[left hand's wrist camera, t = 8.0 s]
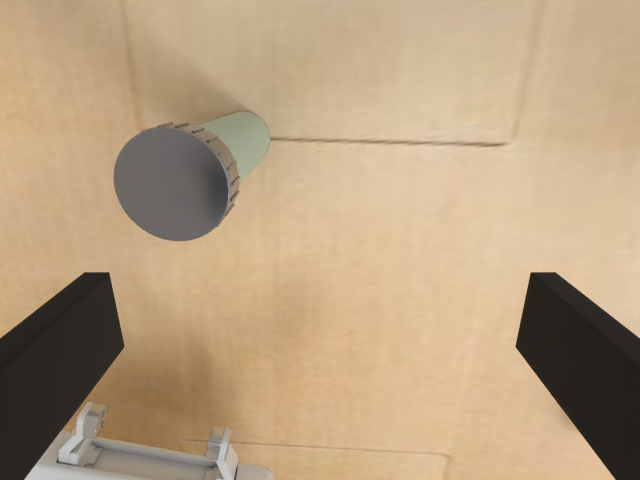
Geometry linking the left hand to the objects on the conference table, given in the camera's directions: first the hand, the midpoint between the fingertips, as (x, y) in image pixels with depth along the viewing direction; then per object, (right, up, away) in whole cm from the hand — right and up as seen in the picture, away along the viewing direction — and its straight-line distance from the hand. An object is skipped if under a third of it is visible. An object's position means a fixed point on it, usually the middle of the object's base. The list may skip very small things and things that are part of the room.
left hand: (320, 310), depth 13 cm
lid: (-7, +5, +6) cm, 10 cm away
